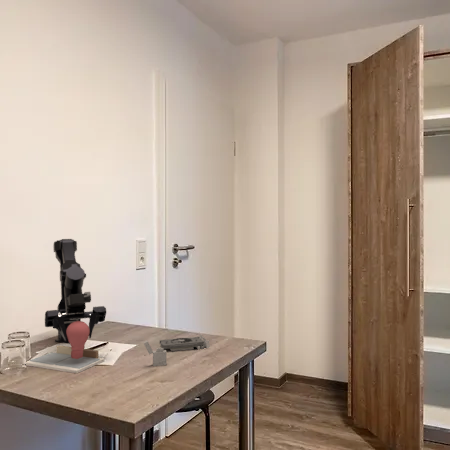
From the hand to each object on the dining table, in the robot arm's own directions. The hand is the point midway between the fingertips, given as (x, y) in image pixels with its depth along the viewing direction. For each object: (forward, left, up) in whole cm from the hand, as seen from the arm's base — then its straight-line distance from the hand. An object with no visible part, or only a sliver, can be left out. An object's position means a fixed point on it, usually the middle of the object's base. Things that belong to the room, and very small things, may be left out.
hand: (78, 339), depth 142 cm
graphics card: (+20, +32, -9) cm, 39 cm away
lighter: (+22, +10, -9) cm, 25 cm away
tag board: (-6, +1, -8) cm, 11 cm away
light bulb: (-1, +1, -7) cm, 7 cm away
